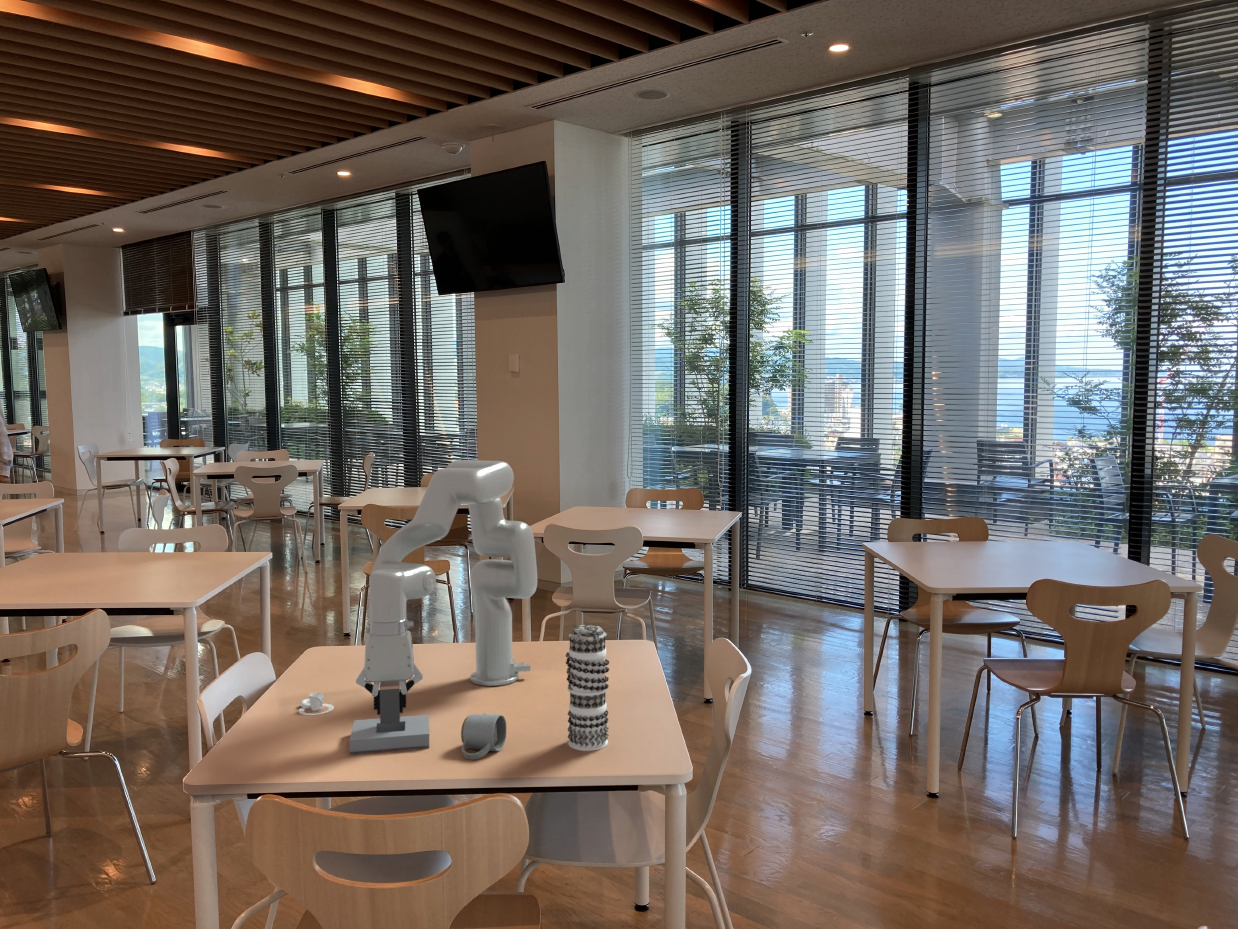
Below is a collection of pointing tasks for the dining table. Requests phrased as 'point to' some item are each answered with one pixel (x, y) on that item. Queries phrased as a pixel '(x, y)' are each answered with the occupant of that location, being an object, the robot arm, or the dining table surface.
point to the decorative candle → (587, 688)
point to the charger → (389, 702)
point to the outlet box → (389, 735)
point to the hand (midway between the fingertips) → (390, 711)
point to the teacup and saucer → (314, 704)
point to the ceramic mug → (483, 734)
